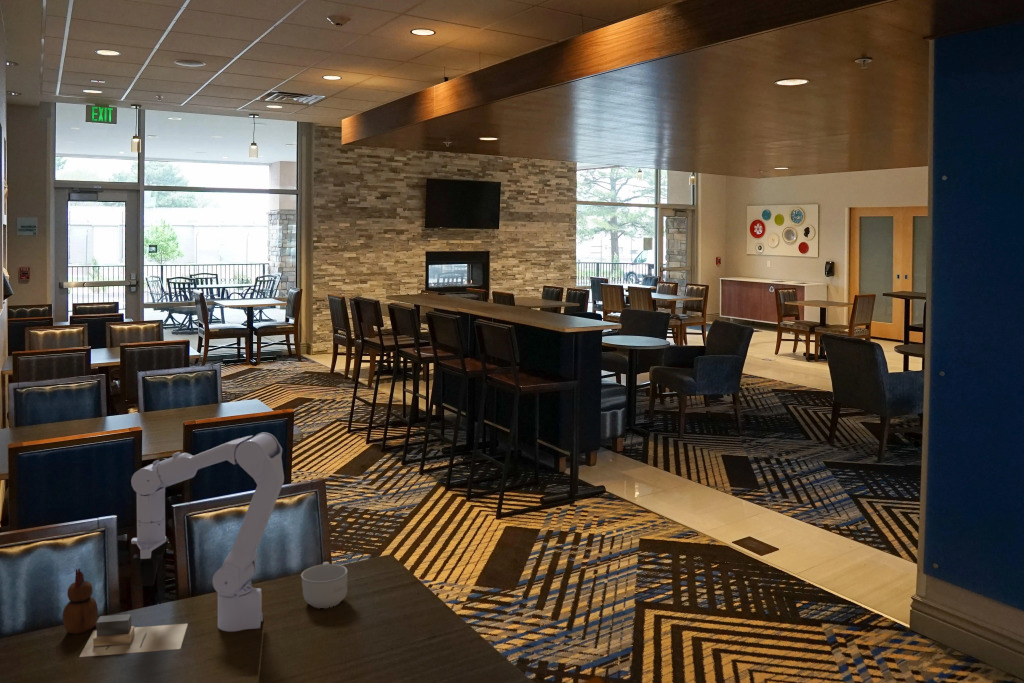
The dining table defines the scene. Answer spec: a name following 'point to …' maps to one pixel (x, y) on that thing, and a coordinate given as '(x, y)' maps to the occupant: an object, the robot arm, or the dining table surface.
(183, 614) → the dining table surface
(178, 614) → the dining table surface
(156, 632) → the board
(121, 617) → the block
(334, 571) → the teacup
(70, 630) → the wooden figurine
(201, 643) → the dining table surface
